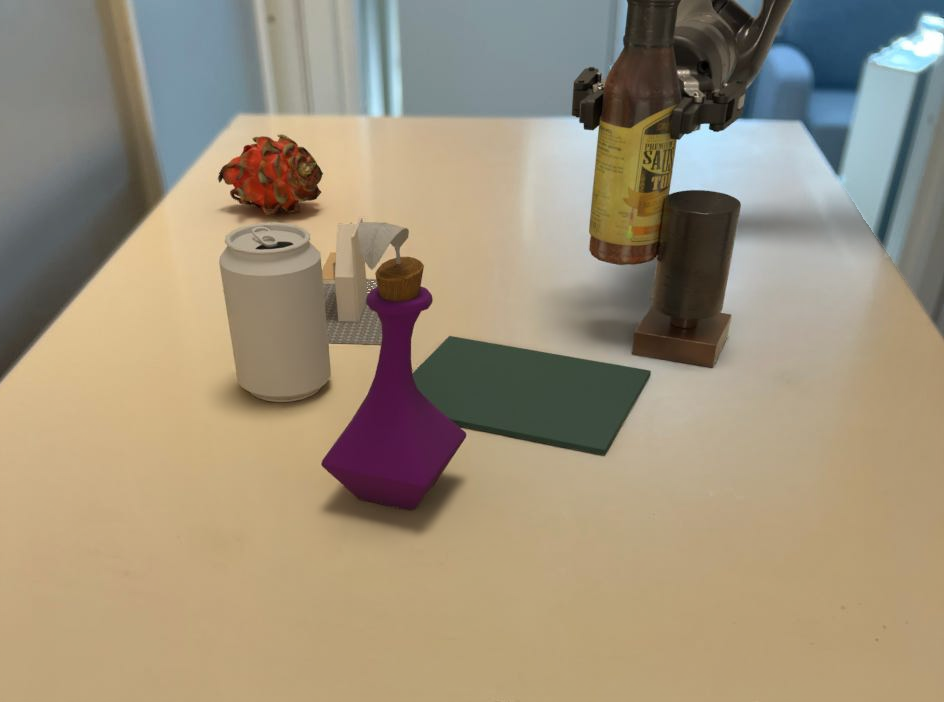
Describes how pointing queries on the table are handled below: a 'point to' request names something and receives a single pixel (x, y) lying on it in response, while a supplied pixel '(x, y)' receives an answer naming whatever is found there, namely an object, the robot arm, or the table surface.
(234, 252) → the can
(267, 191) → the dragon fruit
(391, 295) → the perfume bottle
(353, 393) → the table surface
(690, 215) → the dark brown piece
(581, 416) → the mat
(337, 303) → the architectural model
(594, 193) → the sauce bottle
